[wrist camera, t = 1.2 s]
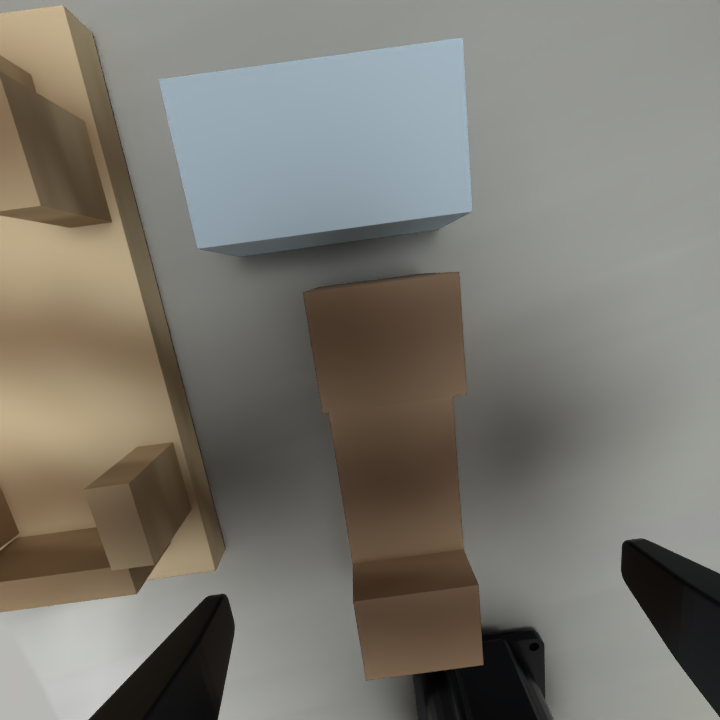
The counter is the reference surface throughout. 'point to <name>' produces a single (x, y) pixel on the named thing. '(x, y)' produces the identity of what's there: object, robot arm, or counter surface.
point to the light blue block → (323, 148)
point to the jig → (83, 346)
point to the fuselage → (400, 465)
